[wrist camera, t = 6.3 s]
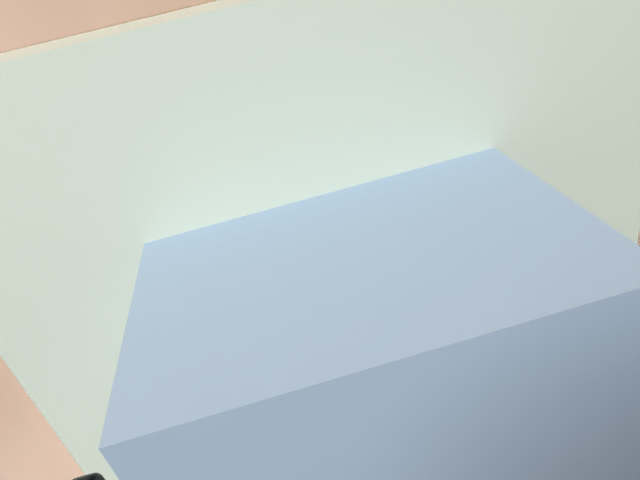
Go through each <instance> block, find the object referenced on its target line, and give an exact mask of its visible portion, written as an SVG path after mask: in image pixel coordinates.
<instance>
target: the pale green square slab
mask: <svg viewBox="0 0 640 480" xmlns="http://www.w3.org/2000/svg"><path fill="white" fill-rule="evenodd" d="M491 148H496V149H497V150H499V151H500V152H501V153H503V154H504V155H506V156H507V157H509V158H510V159H512V160H513V161H515V162H516V163H518V164H519V165H521V166H522V167H524V168H525V169H527V170H528V171H530V172H531V173H533V174H534V175H536V176H537V177H539V178H540V179H542V180H543V181H545V182H546V183H548V184H549V185H550V186H552V187H553V188H555V189H556V190H558V191H559V192H561V193H562V194H564V195H565V196H567V197H568V198H570V199H571V200H573V201H574V202H576V203H577V204H579V205H580V206H582V207H583V208H585V209H586V210H588V211H589V212H591V213H592V214H594V215H595V216H596V217H598V218H599V219H601V220H602V221H604V222H605V223H607V224H608V225H610V226H611V227H613V228H614V229H616V230H617V231H619V232H620V233H622V234H623V235H625V236H626V237H628V238H629V239H631V240H632V241H634V242H635V243H637V244H638V237H639V230H640V0H218V1H214V2H210V3H206V4H202V5H197V6H193V7H189V8H185V9H181V10H177V11H173V12H169V13H164V14H160V15H156V16H152V17H148V18H144V19H140V20H136V21H131V22H127V23H123V24H119V25H115V26H111V27H107V28H103V29H98V30H94V31H90V32H86V33H82V34H78V35H74V36H70V37H65V38H61V39H57V40H53V41H49V42H45V43H41V44H37V45H32V46H28V47H24V48H20V49H16V50H12V51H8V52H4V53H0V356H1V357H2V359H3V360H4V362H5V363H6V364H7V366H8V367H9V369H10V370H11V371H12V373H13V374H14V376H15V377H16V378H17V380H18V381H19V383H20V384H21V385H22V387H23V388H24V390H25V391H26V392H27V394H28V395H29V397H30V398H31V399H32V401H33V402H34V404H35V405H36V406H37V408H38V409H39V411H40V412H41V413H42V415H43V416H44V418H45V419H46V420H47V422H48V423H49V424H50V426H51V427H52V429H53V430H54V431H55V433H56V434H57V436H58V437H59V438H60V440H61V441H62V443H63V444H64V445H65V447H66V448H67V450H68V451H69V452H70V454H71V455H72V457H73V458H74V459H75V461H76V462H77V464H78V465H79V466H80V468H81V469H82V471H83V472H84V473H85V475H88V474H91V473H96V472H97V473H100V474H101V475H102V476H103V477H104V478H105V480H119V479H118V477H117V476H116V474H115V473H114V471H113V470H112V468H111V467H110V465H109V464H108V462H107V461H106V459H105V458H104V456H103V455H102V453H101V452H100V451H99V449H98V448H99V444H100V439H101V435H102V430H103V426H104V421H105V417H106V412H107V408H108V403H109V399H110V395H111V390H112V386H113V381H114V377H115V372H116V368H117V363H118V359H119V354H120V350H121V345H122V341H123V336H124V332H125V327H126V323H127V319H128V314H129V310H130V305H131V301H132V296H133V292H134V287H135V283H136V278H137V274H138V269H139V265H140V260H141V256H142V252H143V247H144V243H148V242H151V241H155V240H159V239H162V238H166V237H170V236H173V235H177V234H180V233H184V232H188V231H191V230H195V229H199V228H202V227H206V226H210V225H213V224H217V223H221V222H224V221H228V220H232V219H235V218H239V217H243V216H246V215H250V214H254V213H257V212H261V211H264V210H268V209H272V208H275V207H279V206H283V205H286V204H290V203H294V202H297V201H301V200H305V199H308V198H312V197H316V196H319V195H323V194H327V193H330V192H334V191H338V190H341V189H345V188H348V187H352V186H356V185H359V184H363V183H367V182H370V181H374V180H378V179H381V178H385V177H389V176H392V175H396V174H400V173H403V172H407V171H411V170H414V169H418V168H422V167H425V166H429V165H432V164H436V163H440V162H443V161H447V160H451V159H454V158H458V157H462V156H465V155H469V154H473V153H476V152H480V151H484V150H487V149H491Z"/></svg>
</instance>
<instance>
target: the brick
mask: <svg viewBox="0 0 640 480" xmlns="http://www.w3.org/2000/svg"><path fill="white" fill-rule="evenodd" d="M98 449H99V451H100V452H101V453H102V455H103V456H104V458H105V459H106V461H107V462H108V464H109V465H110V467H111V468H112V470H113V471H114V473H115V474H116V476H117V477H118V479H119V480H640V245H638V244H637V243H635V242H634V241H632V240H631V239H629V238H628V237H626V236H625V235H623V234H622V233H620V232H619V231H617V230H616V229H614V228H613V227H611V226H610V225H608V224H607V223H605V222H604V221H602V220H601V219H599V218H598V217H596V216H595V215H594V214H592V213H591V212H589V211H588V210H586V209H585V208H583V207H582V206H580V205H579V204H577V203H576V202H574V201H573V200H571V199H570V198H568V197H567V196H565V195H564V194H562V193H561V192H559V191H558V190H556V189H555V188H553V187H552V186H550V185H549V184H548V183H546V182H545V181H543V180H542V179H540V178H539V177H537V176H536V175H534V174H533V173H531V172H530V171H528V170H527V169H525V168H524V167H522V166H521V165H519V164H518V163H516V162H515V161H513V160H512V159H510V158H509V157H507V156H506V155H504V154H503V153H501V152H500V151H499V150H497V149H496V148H491V149H487V150H484V151H480V152H476V153H473V154H469V155H465V156H462V157H458V158H454V159H451V160H447V161H443V162H440V163H436V164H432V165H429V166H425V167H422V168H418V169H414V170H411V171H407V172H403V173H400V174H396V175H392V176H389V177H385V178H381V179H378V180H374V181H370V182H367V183H363V184H359V185H356V186H352V187H348V188H345V189H341V190H338V191H334V192H330V193H327V194H323V195H319V196H316V197H312V198H308V199H305V200H301V201H297V202H294V203H290V204H286V205H283V206H279V207H275V208H272V209H268V210H264V211H261V212H257V213H254V214H250V215H246V216H243V217H239V218H235V219H232V220H228V221H224V222H221V223H217V224H213V225H210V226H206V227H202V228H199V229H195V230H191V231H188V232H184V233H180V234H177V235H173V236H170V237H166V238H162V239H159V240H155V241H151V242H148V243H144V247H143V252H142V256H141V260H140V265H139V269H138V274H137V278H136V283H135V287H134V292H133V296H132V301H131V305H130V310H129V314H128V319H127V323H126V327H125V332H124V336H123V341H122V345H121V350H120V354H119V359H118V363H117V368H116V372H115V377H114V381H113V386H112V390H111V395H110V399H109V403H108V408H107V412H106V417H105V421H104V426H103V430H102V435H101V439H100V444H99V448H98Z"/></svg>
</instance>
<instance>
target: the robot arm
mask: <svg viewBox="0 0 640 480" xmlns="http://www.w3.org/2000/svg"><path fill="white" fill-rule="evenodd" d="M73 480H105V478H104V477H103V476H102V475H101V474H100V473H97V472H96V473H91V474H88V475H84V476H81V477H77V478H75V479H73Z"/></svg>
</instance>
